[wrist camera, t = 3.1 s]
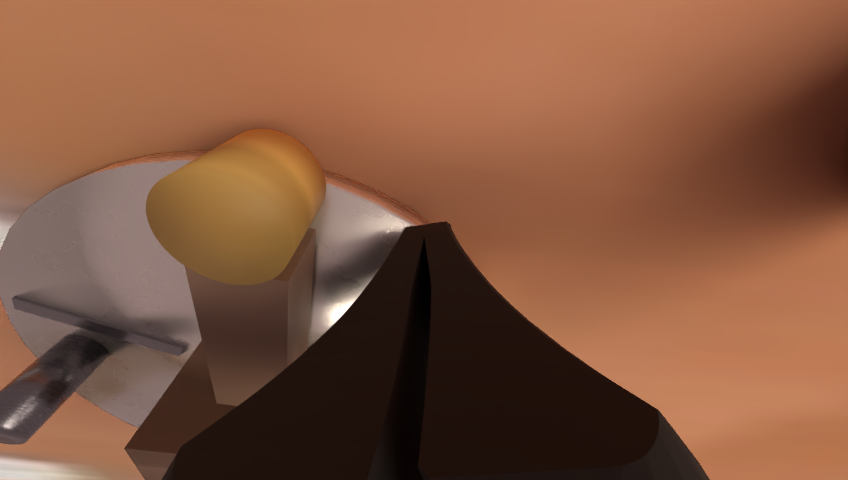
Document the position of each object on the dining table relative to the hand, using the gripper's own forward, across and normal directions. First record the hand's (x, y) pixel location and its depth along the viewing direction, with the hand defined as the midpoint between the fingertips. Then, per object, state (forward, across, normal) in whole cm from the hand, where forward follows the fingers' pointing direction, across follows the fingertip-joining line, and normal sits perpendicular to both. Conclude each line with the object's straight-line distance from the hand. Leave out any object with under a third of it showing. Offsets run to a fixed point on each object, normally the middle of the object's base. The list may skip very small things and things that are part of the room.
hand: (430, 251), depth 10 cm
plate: (+2, +8, +7) cm, 11 cm away
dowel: (+2, +16, +4) cm, 17 cm away
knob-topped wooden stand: (0, +6, +3) cm, 7 cm away
